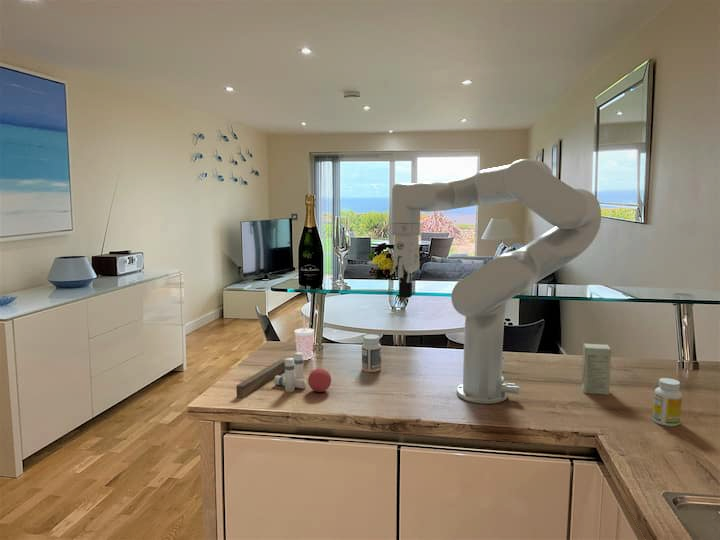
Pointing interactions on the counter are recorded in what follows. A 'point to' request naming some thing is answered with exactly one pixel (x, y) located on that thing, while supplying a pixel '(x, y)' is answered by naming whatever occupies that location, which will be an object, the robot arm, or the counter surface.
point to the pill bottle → (371, 353)
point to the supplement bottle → (667, 402)
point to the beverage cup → (304, 341)
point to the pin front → (298, 382)
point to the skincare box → (596, 368)
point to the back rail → (260, 378)
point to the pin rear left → (289, 375)
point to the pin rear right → (298, 365)
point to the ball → (319, 380)
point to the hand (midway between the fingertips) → (405, 296)
